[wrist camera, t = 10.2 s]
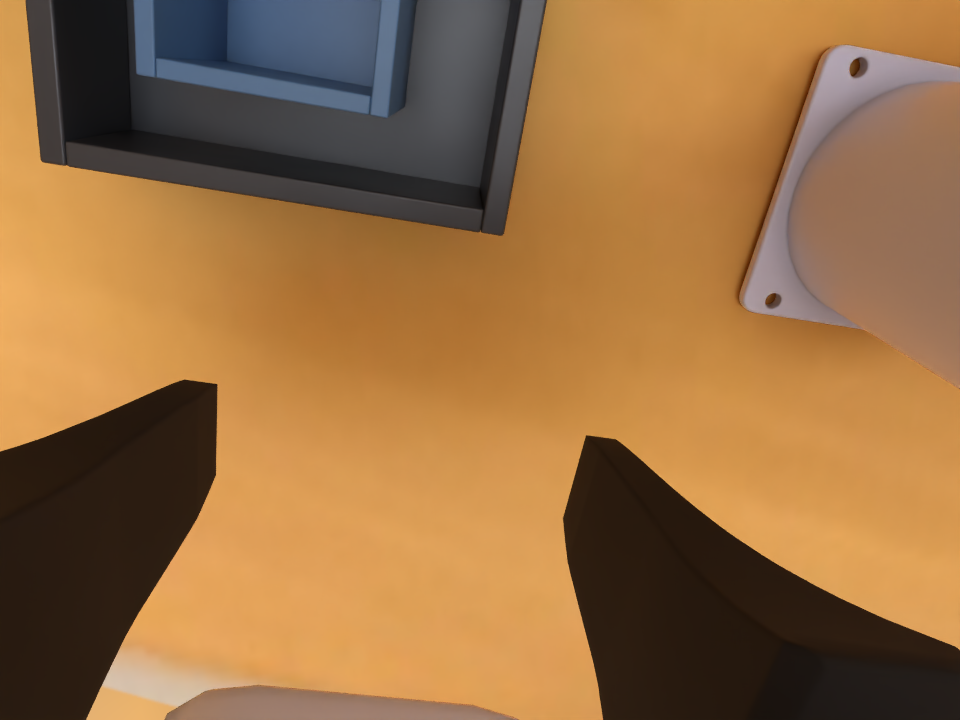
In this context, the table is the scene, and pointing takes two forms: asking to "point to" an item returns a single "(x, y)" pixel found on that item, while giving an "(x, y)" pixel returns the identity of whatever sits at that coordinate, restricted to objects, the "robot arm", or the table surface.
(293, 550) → the table surface
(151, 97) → the charcoal bin
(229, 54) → the blue bin
